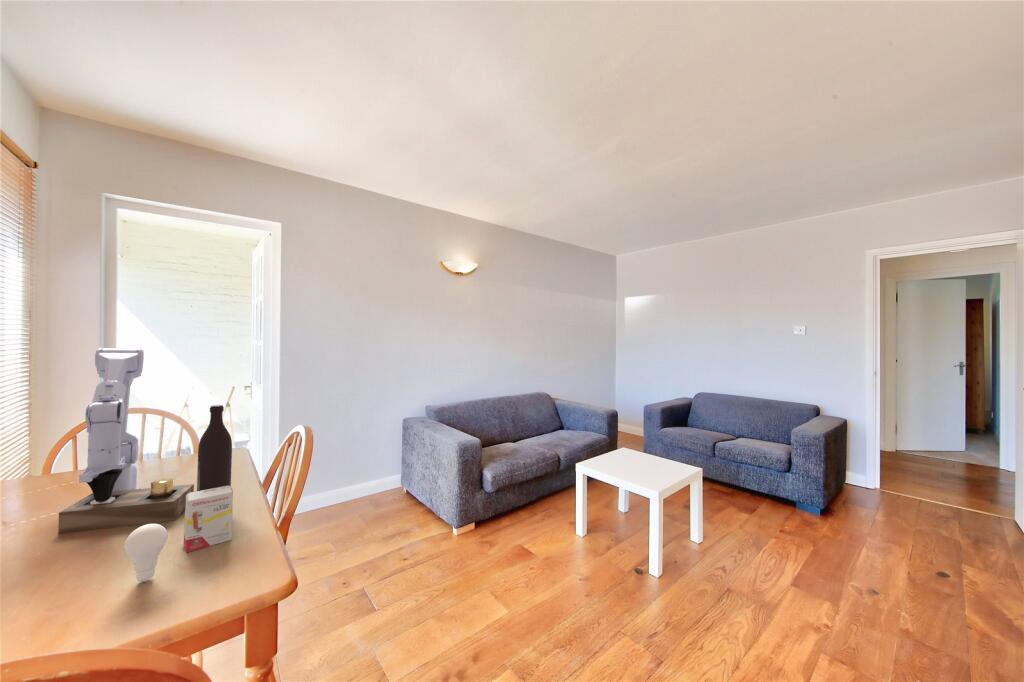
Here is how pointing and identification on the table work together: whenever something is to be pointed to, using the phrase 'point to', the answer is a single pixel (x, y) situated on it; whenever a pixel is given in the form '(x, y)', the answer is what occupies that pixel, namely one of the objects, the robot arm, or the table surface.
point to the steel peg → (103, 501)
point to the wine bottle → (214, 453)
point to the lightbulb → (145, 549)
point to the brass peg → (161, 488)
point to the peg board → (123, 510)
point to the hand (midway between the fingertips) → (102, 500)
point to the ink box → (208, 517)
